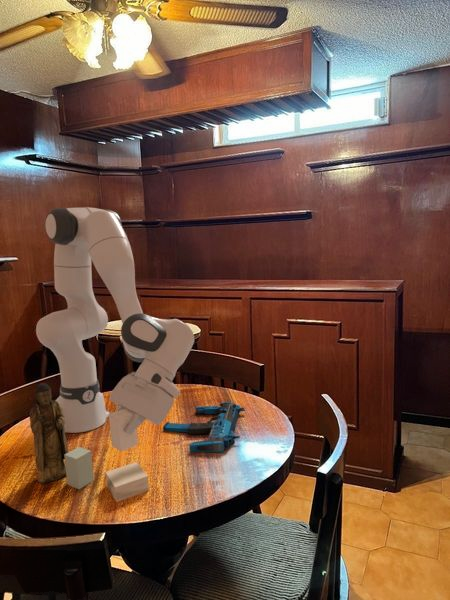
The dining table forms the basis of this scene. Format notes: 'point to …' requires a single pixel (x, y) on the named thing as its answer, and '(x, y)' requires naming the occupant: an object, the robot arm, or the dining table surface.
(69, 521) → the dining table surface
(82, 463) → the sage pillar
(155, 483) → the dining table surface
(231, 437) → the submachine gun
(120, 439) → the cream pillar
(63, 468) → the statue
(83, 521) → the dining table surface
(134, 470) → the birch slab
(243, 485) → the dining table surface
